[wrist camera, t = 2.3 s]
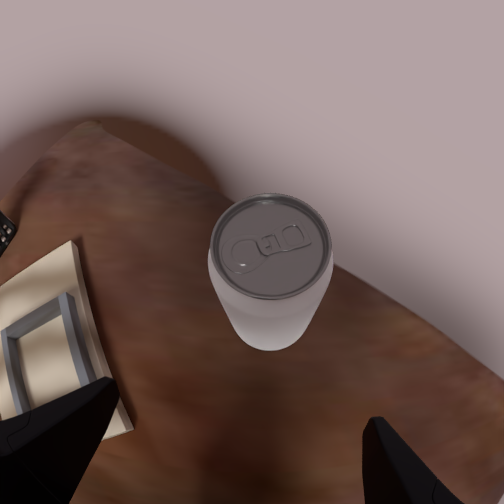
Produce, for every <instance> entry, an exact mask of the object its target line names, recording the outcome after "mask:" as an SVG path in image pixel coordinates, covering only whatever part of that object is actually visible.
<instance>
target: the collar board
mask: <svg viewBox="0 0 504 504" xmlns="http://www.w3.org/2000/svg"><path fill="white" fill-rule="evenodd" d="M104 376H107V377H110V378H112V375H111V372H110V369H109V367H108V364H107V361H106V358H105V355H104V352H103V349H102V346H101V343H100V340H99V336H98V333H97V330H96V326H95V323H94V319H93V315H92V312H91V308H90V304H89V300H88V296H87V292H86V287H85V283H84V278H83V274H82V269H81V264H80V258H79V253H78V247H77V246H76V245H75V244H74V243H73V242H72V241H71V240H70V241H68V242H67V243H65V244H64V245H62V246H60V247H59V248H57V249H55V250H54V251H52V252H51V253H49V254H47V255H46V256H44V257H43V258H41V259H40V260H38V261H37V262H35V263H34V264H32V265H31V266H29V267H28V268H26V269H25V270H23V271H22V272H20V273H19V274H17V275H16V276H14V277H13V278H12V279H10V280H9V281H7V282H6V283H5V284H3V285H2V286H0V413H1V417H2V420H5V419H8V418H12V417H15V416H17V415H20V414H22V413H25V412H27V411H29V410H32V409H34V408H36V407H39V406H41V405H43V404H46V403H48V402H50V401H52V400H54V399H57V398H59V397H61V396H63V395H66V394H68V393H70V392H72V391H74V390H76V389H78V388H81V387H83V386H85V385H87V384H89V383H91V382H93V381H95V380H98V379H100V378H102V377H104ZM131 430H134V428H133V426H132V424H131V421H130V419H129V417H128V415H127V412H126V410H125V408H124V405H123V403H122V401H121V398H119V402H118V404H117V406H116V409H115V411H114V414H113V416H112V419H111V421H110V424H109V426H108V429H107V431H106V433H105V435H104V437H103V439H102V440H105V439H108V438H111V437H114V436H117V435H120V434H123V433H126V432H129V431H131Z"/></svg>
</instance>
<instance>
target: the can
mask: <svg viewBox="0 0 504 504" xmlns="http://www.w3.org/2000/svg"><path fill="white" fill-rule="evenodd" d="M208 269H209V274H210V278H211V281H212V284H213V286H214V289H215V291H216V293H217V295H218V297H219V300H220V302H221V304H222V306H223V308H224V310H225V312H226V314H227V316H228V318H229V320H230V322H231V324H232V326H233V327H234V329H235V331H236V332H237V334H238V335H239V337H240V338H241V339H242V340H243V341H244V342H246V343H247V344H248V345H250V346H252V347H254V348H257V349H260V350H266V351H273V350H280V349H283V348H286V347H288V346H290V345H291V344H293V343H294V342H296V341H297V340H298V339H299V338H300V337H301V336H302V334H303V333H304V331H305V330H306V328H307V326H308V324H309V323H310V321H311V319H312V317H313V315H314V313H315V311H316V309H317V308H318V306H319V304H320V302H321V300H322V298H323V296H324V294H325V291H326V289H327V287H328V285H329V282H330V279H331V276H332V271H333V253H332V244H331V237H330V233H329V230H328V228H327V226H326V224H325V222H324V220H323V219H322V217H321V216H320V215H319V214H318V213H317V212H316V211H315V210H314V209H313V208H312V207H311V206H309V205H308V204H307V203H305V202H303V201H301V200H299V199H297V198H294V197H291V196H288V195H283V194H276V193H265V194H258V195H253V196H250V197H247V198H244V199H242V200H240V201H238V202H237V203H235V204H233V205H232V206H231V207H229V208H228V209H227V210H226V211H225V212H224V213H223V214H222V215H221V217H220V218H219V219H218V221H217V223H216V224H215V226H214V229H213V231H212V235H211V240H210V249H209V254H208Z"/></svg>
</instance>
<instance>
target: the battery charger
mask: <svg viewBox="0 0 504 504" xmlns="http://www.w3.org/2000/svg"><path fill="white" fill-rule="evenodd" d="M15 232H16V227H15V225H14V223H13V222H12V221H11V220H10V219H9V218H8V217H7V216H6V215H5V214H4V213H3V212H2V211H1V210H0V256H1V254H2V253H3V251H4V250H5V248H6V247H7V245H8V244H9V242H10V241H11V239H12V238H13V236H14V234H15Z"/></svg>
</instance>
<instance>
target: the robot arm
mask: <svg viewBox="0 0 504 504" xmlns="http://www.w3.org/2000/svg"><path fill="white" fill-rule="evenodd" d="M119 398H120V394H119V390H118V387H117V383H116V381H115V379H113V378H110V377H107V376H104V377H102V378H100V379H98V380H95V381H93V382H91V383H89V384H87V385H85V386H83V387H81V388H78V389H76V390H74V391H72V392H70V393H68V394H66V395H63V396H61V397H59V398H57V399H54V400H52V401H50V402H48V403H46V404H43V405H41V406H39V407H36V408H34V409H32V410H29V411H27V412H25V413H22V414H20V415H17V416H15V417H12V418H8V419H5V420H2V421H0V504H69V502H70V500H71V498H72V496H73V494H74V492H75V490H76V488H77V486H78V484H79V482H80V480H81V478H82V476H83V474H84V473H85V471H86V469H87V467H88V465H89V463H90V461H91V459H92V457H93V455H94V454H95V452H96V450H97V448H98V446H99V444H100V442H101V440H102V439H103V437H104V435H105V433H106V431H107V429H108V426H109V424H110V421H111V419H112V416H113V414H114V411H115V409H116V406H117V404H118V402H119ZM362 476H363V487H364V498H365V504H464V503H463V502H462V501H460V500H459V499H458V498H457V497H456V496H455V495H454V494H453V493H451V491H450V490H449V489H448V488H447V487H446V486H445V485H444V484H443V483H442V482H441V481H440V480H439V479H437V477H436V476H435V474H434V473H433V472H432V471H431V470H430V469H429V468H428V467H427V466H426V465H425V463H424V462H423V461H422V460H421V459H420V458H419V457H418V456H417V455H416V453H415V452H414V451H413V450H412V449H411V448H410V447H409V446H408V445H407V443H406V442H405V441H404V440H403V439H402V438H401V437H400V436H399V435H398V433H397V432H396V431H395V430H394V429H393V428H392V427H391V426H390V424H389V423H388V422H387V421H386V420H385V419H384V418H383V417H380V416H379V417H371V418H370V419H369V421H368V423H367V425H366V427H365V429H364V431H363V436H362Z"/></svg>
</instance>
